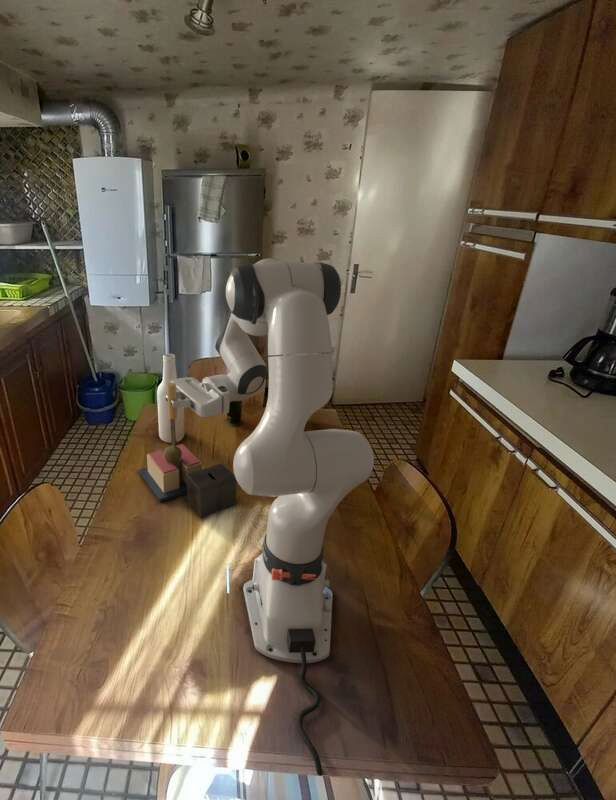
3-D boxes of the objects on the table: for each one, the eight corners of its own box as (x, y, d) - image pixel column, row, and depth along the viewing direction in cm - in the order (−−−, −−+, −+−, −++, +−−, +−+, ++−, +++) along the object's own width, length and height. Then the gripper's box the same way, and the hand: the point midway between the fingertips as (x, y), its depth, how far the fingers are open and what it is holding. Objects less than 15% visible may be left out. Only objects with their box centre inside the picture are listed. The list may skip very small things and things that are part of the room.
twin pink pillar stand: (210, 485, 127) (211, 463, 124) (160, 502, 120) (159, 479, 116) (186, 458, 139) (186, 438, 136) (139, 472, 132) (137, 451, 129)
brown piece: (180, 487, 125) (179, 455, 120) (160, 485, 126) (159, 453, 122) (186, 475, 131) (185, 444, 126) (166, 473, 132) (165, 442, 127)
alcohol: (184, 430, 156) (183, 350, 143) (184, 443, 148) (182, 360, 135) (160, 430, 155) (156, 350, 142) (158, 443, 147) (153, 360, 134)
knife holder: (235, 505, 119) (237, 478, 115) (200, 518, 114) (200, 490, 110) (221, 489, 125) (221, 463, 121) (186, 501, 120) (186, 474, 116)
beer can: (234, 427, 158) (235, 397, 153) (223, 422, 162) (224, 392, 156) (244, 422, 162) (245, 393, 156) (233, 417, 165) (234, 388, 160)
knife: (179, 451, 125) (177, 385, 116) (171, 453, 124) (169, 386, 115) (175, 447, 127) (173, 381, 118) (168, 449, 126) (165, 383, 117)
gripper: (196, 369, 131) (153, 377, 125) (232, 394, 115) (185, 406, 109) (196, 388, 134) (154, 397, 127) (231, 415, 118) (185, 427, 112)
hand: (169, 401), depth 118 cm, fingers closed on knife, 2 cm apart
